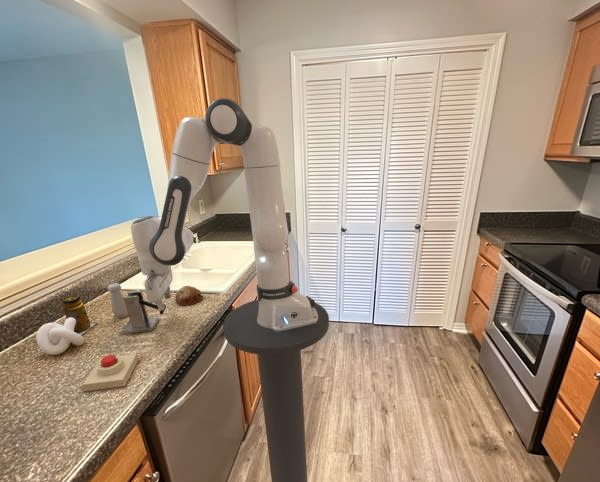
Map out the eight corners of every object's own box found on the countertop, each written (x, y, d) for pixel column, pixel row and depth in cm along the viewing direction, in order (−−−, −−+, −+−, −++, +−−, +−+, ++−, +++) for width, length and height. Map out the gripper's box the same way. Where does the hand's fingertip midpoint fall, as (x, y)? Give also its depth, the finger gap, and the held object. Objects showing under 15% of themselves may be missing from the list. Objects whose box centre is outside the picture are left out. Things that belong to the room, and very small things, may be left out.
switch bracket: (158, 319, 119) (151, 288, 114) (153, 330, 112) (144, 297, 107) (130, 322, 118) (121, 291, 113) (122, 334, 111) (112, 300, 106)
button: (119, 359, 91) (117, 354, 90) (114, 366, 88) (112, 361, 87) (105, 360, 91) (103, 355, 90) (100, 368, 87) (98, 363, 87)
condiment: (96, 323, 119) (86, 293, 114) (81, 335, 111) (70, 304, 106) (77, 324, 119) (66, 294, 114) (61, 336, 111) (49, 305, 107)
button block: (138, 359, 97) (135, 348, 95) (125, 386, 86) (121, 373, 84) (103, 363, 96) (99, 352, 94) (84, 391, 85) (80, 379, 83)
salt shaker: (134, 313, 125) (125, 282, 120) (121, 320, 120) (111, 288, 115) (123, 311, 128) (114, 280, 122) (110, 317, 123) (100, 286, 118)
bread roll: (188, 302, 140) (177, 287, 138) (207, 293, 138) (196, 277, 135) (179, 313, 131) (167, 297, 129) (200, 303, 129) (188, 287, 126)
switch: (165, 309, 117) (167, 304, 116) (161, 316, 112) (164, 310, 112) (130, 297, 113) (133, 291, 112) (126, 303, 108) (128, 297, 108)
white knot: (97, 339, 108) (89, 316, 105) (64, 361, 98) (54, 335, 94) (72, 335, 111) (63, 312, 108) (37, 356, 101) (26, 331, 97)
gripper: (157, 276, 99) (168, 315, 104) (171, 256, 117) (179, 290, 123) (135, 278, 98) (147, 318, 103) (153, 258, 116) (162, 292, 122)
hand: (165, 303), depth 113 cm, fingers open, 8 cm apart
